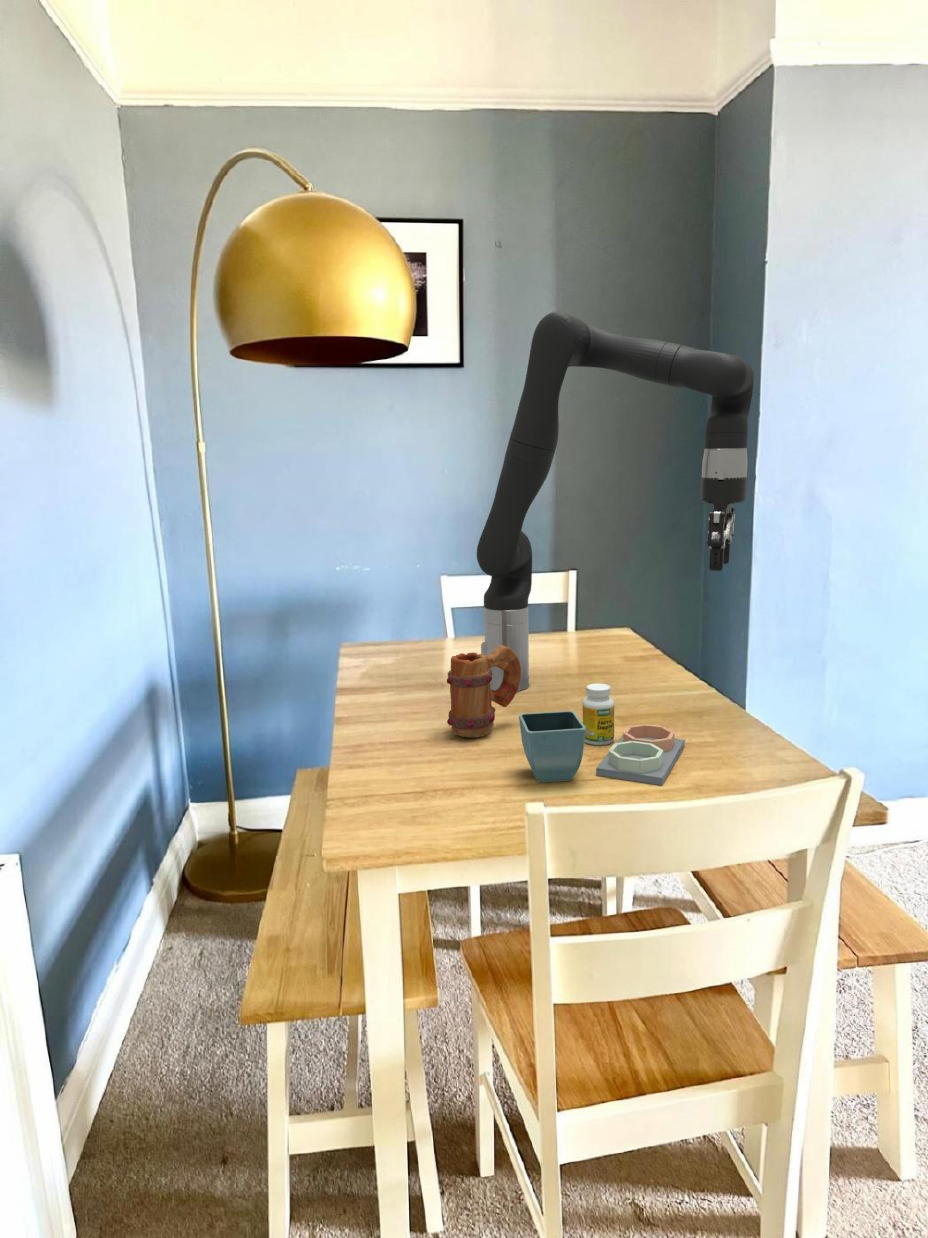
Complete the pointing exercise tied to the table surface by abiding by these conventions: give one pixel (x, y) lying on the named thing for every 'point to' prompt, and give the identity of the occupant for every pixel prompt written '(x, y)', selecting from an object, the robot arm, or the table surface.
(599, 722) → the supplement bottle
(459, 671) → the mug
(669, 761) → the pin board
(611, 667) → the table surface
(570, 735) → the flower pot
